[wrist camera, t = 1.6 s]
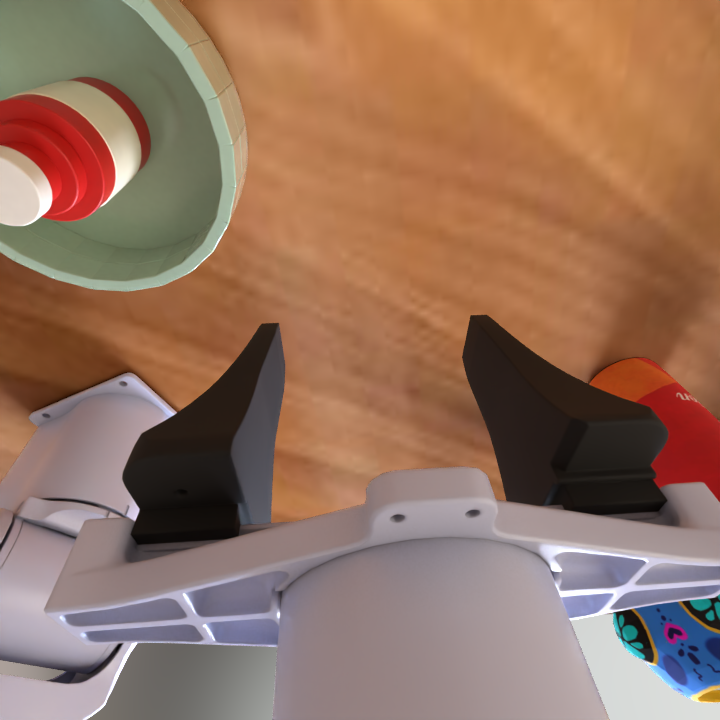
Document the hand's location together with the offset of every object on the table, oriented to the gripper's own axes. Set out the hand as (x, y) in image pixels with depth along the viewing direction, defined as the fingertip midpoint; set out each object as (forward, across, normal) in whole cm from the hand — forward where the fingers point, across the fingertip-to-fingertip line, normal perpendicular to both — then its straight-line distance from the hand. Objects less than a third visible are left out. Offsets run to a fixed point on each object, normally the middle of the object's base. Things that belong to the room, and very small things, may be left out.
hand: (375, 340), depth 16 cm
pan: (+10, +12, -5) cm, 16 cm away
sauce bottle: (+10, +12, -5) cm, 16 cm away
